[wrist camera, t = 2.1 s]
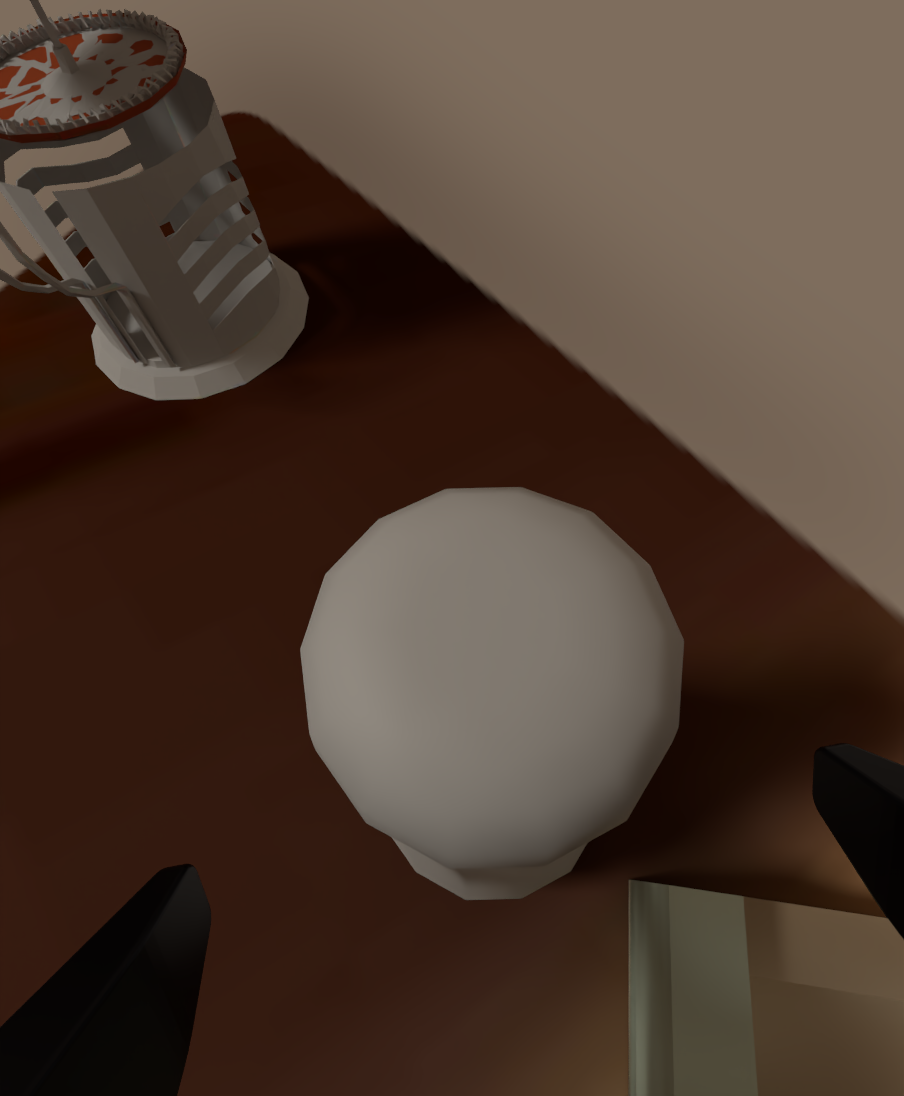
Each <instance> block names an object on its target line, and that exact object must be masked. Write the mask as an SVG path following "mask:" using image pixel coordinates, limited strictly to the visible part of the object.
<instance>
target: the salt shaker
mask: <svg viewBox="0 0 904 1096" xmlns="http://www.w3.org/2000/svg"><path fill="white" fill-rule="evenodd" d="M683 648H684V640H683V637H682V635H681V633H680V631H679V628H678V626H677V624H676V622H675V620H674V617H673V615H672V613H671V611H670V609H669V606H668V604H667V602H666V600H665V597H664V595H663V593H662V591H661V589H660V586H659V584H658V582H657V580H656V578H655V575H654V573H653V571H652V569H651V566H650V565H649V564H648V563H647V562H646V561H645V560H644V559H643V558H641V557H640V556H639V555H638V554H637V553H636V552H635V551H634V550H633V549H632V548H631V547H630V546H629V545H627V544H626V543H625V542H624V541H623V540H622V539H621V538H620V537H619V536H618V535H617V534H616V533H614V532H613V531H612V530H611V529H610V528H609V527H608V526H607V525H606V524H605V523H604V522H603V521H602V520H600V519H599V518H598V517H597V516H596V515H595V514H594V513H593V512H591V511H588V510H585V509H582V508H579V507H576V506H574V505H571V504H568V503H565V502H562V501H559V500H556V499H553V498H550V497H548V496H545V495H542V494H539V493H536V492H533V491H530V490H527V489H525V488H522V487H503V488H462V489H445V490H442V491H440V492H438V493H436V494H433V495H431V496H429V497H427V498H425V499H422V500H420V501H418V502H416V503H414V504H411V505H409V506H407V507H405V508H403V509H400V510H398V511H396V512H394V513H392V514H389V515H387V516H385V517H383V518H381V519H378V520H377V521H376V522H375V523H374V524H373V525H372V526H371V527H370V529H369V530H368V531H367V532H366V533H365V534H364V535H363V536H362V537H361V538H360V539H359V540H358V541H357V542H356V543H355V544H354V545H353V546H352V547H351V548H350V549H349V550H348V551H347V552H346V553H345V554H344V555H343V557H342V558H341V559H340V560H339V561H338V562H337V563H336V564H335V565H334V566H333V567H332V568H331V569H330V570H329V571H328V572H327V573H326V574H325V577H324V580H323V583H322V586H321V589H320V592H319V595H318V598H317V601H316V604H315V607H314V610H313V613H312V616H311V619H310V622H309V625H308V628H307V631H306V634H305V637H304V640H303V643H302V646H301V649H300V651H301V661H302V670H303V679H304V688H305V697H306V706H307V715H308V724H309V734H310V737H311V739H312V742H313V745H314V747H315V750H316V751H317V753H318V754H319V756H320V757H321V759H322V760H323V761H324V763H325V764H326V766H327V767H328V769H329V770H330V772H331V773H332V774H333V776H334V777H335V779H336V780H337V782H338V783H339V785H340V786H341V787H342V789H343V790H344V792H345V793H346V795H347V796H348V798H349V799H350V800H351V802H352V803H353V805H354V806H355V808H356V809H357V811H358V812H359V813H360V815H361V816H362V818H363V819H364V821H365V822H366V823H367V824H369V825H371V826H373V827H374V828H376V829H378V830H380V831H382V832H383V833H385V834H387V835H389V836H391V837H392V838H393V840H394V841H395V843H396V844H397V845H398V847H399V848H400V850H401V851H402V853H403V854H404V855H405V857H406V858H407V860H408V861H409V863H410V864H411V865H412V867H413V868H414V870H415V871H416V872H417V873H419V874H421V875H422V876H424V877H426V878H428V879H430V880H431V881H433V882H435V883H437V884H438V885H440V886H442V887H444V888H445V889H447V890H449V891H451V892H453V893H454V894H456V895H458V896H460V897H461V898H463V899H465V900H485V899H521V898H523V897H525V896H527V895H529V894H531V893H532V892H534V891H536V890H538V889H540V888H542V887H543V886H545V885H547V884H549V883H551V882H552V881H554V880H556V879H558V878H560V877H562V876H563V875H565V874H567V873H569V872H571V870H572V869H573V867H574V865H575V863H576V862H577V860H578V858H579V857H580V855H581V853H582V851H583V850H584V848H585V846H586V845H587V843H588V842H589V841H591V840H593V839H595V838H597V837H598V836H600V835H602V834H604V833H606V832H607V831H609V830H611V829H613V828H615V827H616V826H618V825H620V824H622V823H624V822H625V821H627V819H628V818H629V816H630V814H631V813H632V811H633V809H634V807H635V806H636V804H637V802H638V801H639V799H640V797H641V795H642V794H643V792H644V790H645V788H646V787H647V785H648V783H649V782H650V780H651V778H652V776H653V775H654V773H655V771H656V770H657V768H658V766H659V764H660V763H661V761H662V759H663V758H664V756H665V754H666V752H667V751H668V749H669V747H670V746H671V744H672V742H673V739H674V737H675V735H676V732H677V730H678V728H679V714H680V697H681V681H682V664H683Z"/></svg>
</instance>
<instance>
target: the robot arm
mask: <svg viewBox="0 0 904 1096" xmlns="http://www.w3.org/2000/svg"><path fill="white" fill-rule="evenodd" d="M812 792H813V799H814V803H815V806H816V808H817V810H818V812H819V813H820V815H821V817H822V818H823V820H824V821H825V823H826V824H827V826H828V827H829V829H830V831H831V832H832V834H833V835H834V837H835V838H836V840H837V842H838V843H839V845H840V846H841V848H842V849H843V851H844V853H845V854H846V856H847V857H848V859H849V860H850V862H851V863H852V865H853V867H854V868H855V870H856V871H857V873H858V874H859V876H860V878H861V879H862V881H863V882H864V884H865V885H866V887H867V888H868V890H869V892H870V893H871V895H872V896H873V898H874V899H875V901H876V902H877V904H878V905H879V907H880V908H881V910H882V911H883V913H884V914H885V916H886V917H887V918H888V920H889V921H890V922H891V924H892V925H893V926H894V928H895V929H896V930H897V932H898V933H899V934H900V936H901V937H902V938H903V940H904V766H903V765H900V764H898V763H895V762H893V761H890V760H888V759H885V758H883V757H880V756H878V755H875V754H873V753H870V752H868V751H866V750H863V749H861V748H858V747H856V746H853V745H850V744H846V743H840V744H835V745H829V746H824V747H820V748H818V749H817V750H816V752H815V754H814V769H813V791H812ZM210 926H211V910H210V906H209V902H208V900H207V897H206V894H205V892H204V889H203V886H202V883H201V881H200V878H199V875H198V872H197V870H196V868H195V867H194V866H193V865H191V864H183V865H177V866H172V867H167V868H164V869H162V870H160V871H159V872H158V873H156V874H155V875H154V876H153V877H152V878H151V879H150V880H149V881H148V882H147V883H146V884H145V885H144V886H143V887H142V888H141V889H140V890H139V891H138V892H137V893H136V894H135V895H134V896H133V897H132V898H131V899H130V900H129V901H128V902H127V903H126V904H125V905H124V906H123V907H122V908H121V909H120V910H119V911H118V912H117V913H116V914H115V915H114V916H113V917H112V918H111V919H110V920H109V921H108V922H107V923H106V924H105V925H104V926H103V927H102V928H101V929H100V930H98V931H97V932H96V933H95V934H94V935H93V936H92V937H91V938H90V939H89V940H88V941H87V942H86V943H85V944H84V945H83V946H82V947H81V948H80V949H79V950H78V951H77V952H76V953H75V954H74V955H73V956H72V957H71V958H70V959H69V960H68V961H67V962H66V963H65V964H64V965H63V966H62V967H61V968H60V969H59V970H58V971H57V972H56V973H55V974H54V975H53V976H52V977H51V978H50V979H49V980H48V981H47V982H46V983H45V984H44V985H43V986H42V987H41V988H40V989H39V990H38V991H37V992H36V993H35V994H34V995H33V996H32V997H30V998H29V999H28V1000H27V1001H26V1002H25V1003H24V1004H23V1005H22V1006H21V1007H20V1008H19V1009H18V1010H17V1011H16V1012H15V1013H14V1014H13V1015H12V1016H11V1017H10V1018H9V1019H8V1020H7V1021H6V1022H5V1023H4V1024H3V1025H2V1026H1V1027H0V1096H177V1093H178V1090H179V1086H180V1082H181V1079H182V1075H183V1071H184V1067H185V1063H186V1059H187V1055H188V1051H189V1046H190V1041H191V1036H192V1030H193V1025H194V1019H195V1013H196V1008H197V1002H198V996H199V990H200V984H201V979H202V973H203V967H204V961H205V955H206V950H207V944H208V938H209V932H210Z"/></svg>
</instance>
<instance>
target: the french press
mask: <svg viewBox="0 0 904 1096" xmlns="http://www.w3.org/2000/svg"><path fill="white" fill-rule="evenodd" d="M30 1H31V3H32V5H33V7H34V9H35V11H36V13H37V15H38V16H39V18H40V19H37V20H36V21H37V24H38V26H37V27H34V26H32V25H31V24H29V25H27V28H28V30H27V31H26V30H24V29H22V28H19V31H18V35H16V34H15V33H14V32H12V31H10V33H9V36H8V38H7V37H6V36H5V35H2V36H1V37H0V191H1V193H2V194H3V195H4V197H5V198H6V200H7V201H8V203H9V204H10V205H11V207H12V208H13V209H14V211H15V212H16V214H17V215H18V216H19V218H20V219H21V221H22V222H23V223H24V225H25V226H26V227H27V229H28V230H29V232H30V233H31V234H32V235H33V237H34V239H35V240H36V241H37V243H38V244H39V245H40V247H41V248H42V250H43V251H44V252H45V254H46V255H47V256H48V258H49V259H50V261H51V262H52V263H53V265H54V266H55V267H56V269H57V270H58V272H59V273H60V274H61V276H62V277H63V278H64V280H63V281H59V280H57V279H56V278H54V277H53V276H51V275H50V274H48V273H47V272H45V271H44V270H43V269H42V268H41V267H39V266H38V265H37V264H36V263H35V262H34V261H33V260H31V259H30V258H29V257H28V256H27V255H26V254H24V253H23V252H22V251H21V249H20V248H19V246H18V245H17V244H16V242H15V241H14V240H13V238H12V237H11V236H10V234H9V233H8V232H7V230H6V229H5V228H4V227H3V225H2V224H1V222H0V238H1V240H2V241H3V242H4V243H5V245H6V246H7V248H8V249H9V250H10V251H11V253H12V254H13V255H14V257H15V258H16V259H17V260H18V261H19V262H20V263H22V264H23V265H24V266H25V267H27V268H28V269H29V270H31V271H32V272H33V273H35V274H36V275H37V276H38V277H40V278H41V279H42V280H44V281H45V282H47V283H48V285H45V286H42V285H35V284H29V283H23V282H20V281H18V280H17V279H15V278H14V277H12V276H11V275H9V274H7V273H6V272H4V271H3V270H1V269H0V280H2V281H4V282H6V283H8V284H10V285H12V286H14V287H16V288H18V289H20V290H22V291H29V292H38V293H51V292H54V291H57V290H59V291H61V292H62V293H64V294H65V295H67V296H75V297H77V298H78V299H79V300H80V302H81V303H82V305H83V306H84V307H85V309H86V310H87V311H88V313H89V314H90V316H91V317H92V318H93V320H94V321H95V322H96V326H95V328H94V331H93V334H92V341H93V347H94V353H95V359H96V365H97V366H98V367H99V368H100V369H101V370H102V371H103V372H104V373H105V374H106V375H107V376H108V377H109V378H110V379H111V380H112V381H113V382H114V384H115V385H116V386H117V387H118V388H120V389H123V390H126V391H129V392H133V393H136V394H139V395H142V396H145V397H148V398H151V399H154V400H176V399H202V398H205V397H208V396H211V395H214V394H217V393H220V392H223V391H226V390H229V389H232V388H235V387H238V386H241V385H244V384H246V383H248V382H249V381H251V380H252V379H253V378H255V377H256V376H258V375H259V374H261V373H262V372H264V371H265V370H266V369H268V368H269V367H271V366H272V365H274V364H275V363H276V362H278V361H279V360H281V359H282V358H283V357H284V355H285V354H286V352H287V351H288V350H289V348H290V347H291V345H292V344H293V343H294V341H295V340H296V338H297V337H298V336H299V334H300V333H301V331H302V330H303V329H304V324H305V318H306V312H307V306H308V300H309V297H308V295H307V292H306V290H305V288H304V286H303V283H302V281H301V279H300V276H299V274H298V272H297V271H295V270H294V269H293V268H291V267H290V266H289V265H287V264H286V263H285V262H283V261H282V260H280V259H279V258H278V257H276V256H275V255H274V254H271V253H269V250H268V247H267V244H266V241H265V238H264V236H263V234H262V232H261V229H260V227H259V226H260V224H259V221H258V218H257V216H256V213H255V211H254V208H253V206H252V204H251V202H250V200H249V198H247V197H246V196H247V195H249V193H248V190H247V188H246V185H245V182H244V180H243V177H242V175H241V173H240V171H239V169H238V167H237V166H236V165H235V164H234V163H233V162H232V161H231V160H234V159H236V156H235V154H234V151H233V148H232V146H231V143H230V140H229V138H228V135H227V132H226V130H225V127H224V124H223V122H222V119H221V116H220V114H219V111H218V108H217V105H216V103H215V100H214V98H213V96H212V93H211V91H210V88H209V86H208V83H207V81H206V80H205V79H204V78H202V77H200V76H198V75H197V74H195V73H193V72H191V71H190V70H188V69H186V68H184V65H185V62H186V53H187V49H186V47H185V45H184V42H183V40H182V38H181V35H180V33H179V31H178V30H176V29H174V28H172V27H171V26H169V25H167V24H166V22H163V21H161V20H158V18H157V17H155V18H154V16H153V15H147V16H146V15H145V14H144V13H143V12H142V13H141V14H140V15H138V14H137V12H136V11H134V12H133V13H132V14H131V13H130V11H128V10H125V9H124V13H122V12H121V11H120V10H118V11H116V12H115V13H112V11H111V10H106V11H107V14H102V13H101V10H98V12H97V14H94V15H93V14H92V12H91V11H88V14H89V15H82V13H81V12H78V13H79V16H76V17H72V15H71V14H68V16H69V18H68V19H63V18H62V17H58V20H59V21H55V22H53V20H52V19H51V17H50V18H47V16H46V14H45V12H44V11H43V9H42V7H41V5H40V3H39V1H38V0H30ZM30 28H32V29H30ZM2 40H4V41H2ZM121 128H124V130H125V132H126V134H127V136H128V138H129V140H130V142H131V145H129V146H127V147H126V148H124V149H122V150H120V151H118V152H117V153H115V154H113V155H111V156H110V157H107V158H102V159H97V160H92V161H87V162H82V163H78V164H73V165H63V166H62V165H61V166H48V167H36V168H31V169H30V170H29V171H27V172H26V173H25V174H24V175H22V176H21V177H20V178H19V179H17V180H16V186H14V185H10V184H6V183H5V174H4V173H5V172H4V161H5V160H6V159H8V158H9V157H10V156H12V155H13V154H15V153H16V152H17V151H19V150H20V149H35V148H58V147H65V146H70V145H75V144H81V143H86V142H91V141H96V140H100V139H102V138H103V137H106V136H108V135H109V134H111V133H113V132H115V131H117V130H119V129H121ZM139 163H141V165H142V167H143V169H144V171H142V172H140V173H138V174H135V175H133V176H131V177H127V178H123V179H120V180H116V181H112V182H109V183H105V184H102V185H98V186H95V187H90V188H87V189H78V190H66V191H55V192H53V194H54V195H55V197H56V198H57V200H58V201H54V202H53V203H52V204H51V205H49V206H48V207H47V208H46V209H45V210H43V209H42V207H41V206H40V204H39V203H38V201H37V200H36V198H35V197H34V194H36V193H37V192H38V191H39V190H40V189H41V188H43V187H44V186H50V185H59V184H68V183H80V182H89V181H94V180H98V179H102V178H105V177H110V176H114V175H118V174H120V173H121V172H123V171H125V170H127V169H129V168H131V167H133V166H135V165H137V164H139ZM227 170H228V171H229V172H230V173H231V174H232V175H234V176H235V177H236V178H237V179H238V180H236V181H234V182H231V180H230V177H229V175H228V172H227ZM239 201H240V202H241V203H242V204H243V205H244V206H245V207H246V208H247V209H248V210H250V211H251V213H250V214H248V215H245V214H244V213H243V212H242V209H241V207H240V204H239ZM68 217H69V218H70V220H71V222H72V223H73V225H74V226H75V228H76V229H77V231H75V232H73V233H72V234H71V235H70V236H69V237H68V239H67V240H66V241H64V239H63V238H62V236H61V235H60V234H59V232H58V231H57V229H56V227H57V225H59V224H60V223H61V221H63V220H64V219H65V218H68ZM169 221H170V223H171V225H172V227H173V229H174V231H175V233H173V234H171V235H169V236H168V237H166V238H165V237H164V235H163V233H162V231H161V229H160V227H159V226H161V225H163V224H165V223H167V222H169ZM253 232H254V233H255V234H256V235H257V236H258V237H259V238H260V239H261V240H262V241H263V242H261V243H260V244H257V243H256V242H255V241H254V240H253V238H252V236H251V234H252V233H253ZM87 246H88V248H89V249H90V251H91V252H92V254H93V255H94V257H95V258H96V259H92V260H91V261H90V262H89V263H88V265H87V266H86V267H85V268H84V269H83V267H82V266H81V264H80V263H79V261H78V260H77V258H76V256H77V255H78V253H79V252H80V251H81V250H82V249H83V248H84V247H87Z"/></svg>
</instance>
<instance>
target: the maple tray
mask: <svg viewBox="0 0 904 1096" xmlns="http://www.w3.org/2000/svg"><path fill="white" fill-rule="evenodd" d="M629 1096H904V940H903V938H902V937H901V936H900V934H899V933H898V932H897V930H896V929H895V928H894V926H893V925H892V924H891V922H890V921H889V920H888V918H883V917H876V916H869V915H863V914H856V913H849V912H843V911H836V910H829V909H823V908H816V907H810V906H803V905H796V904H790V903H783V902H776V901H770V900H763V899H757V898H750V897H743V896H738V895H731V894H724V893H718V892H711V891H704V890H698V889H691V888H684V887H678V886H671V885H664V884H657V883H650V882H643V881H636V880H629Z"/></svg>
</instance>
